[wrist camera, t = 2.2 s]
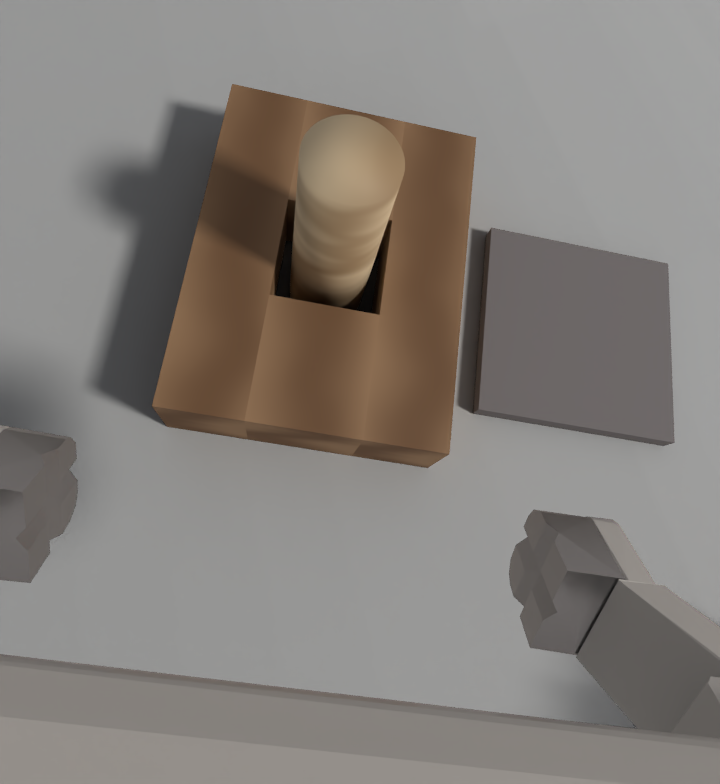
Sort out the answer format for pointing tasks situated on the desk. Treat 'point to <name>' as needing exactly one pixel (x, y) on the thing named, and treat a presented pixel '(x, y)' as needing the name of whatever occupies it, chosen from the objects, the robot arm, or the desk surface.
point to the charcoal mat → (575, 339)
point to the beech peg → (342, 207)
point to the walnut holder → (312, 320)
